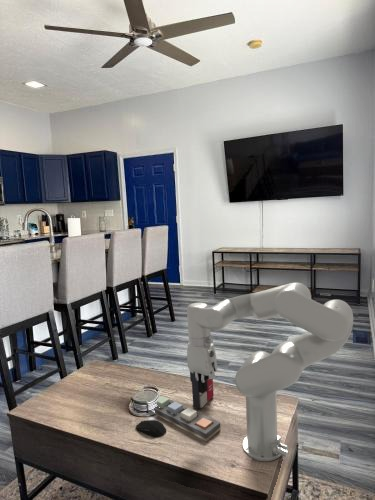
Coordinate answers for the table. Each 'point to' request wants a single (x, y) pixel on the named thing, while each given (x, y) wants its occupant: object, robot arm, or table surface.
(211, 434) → the keypad
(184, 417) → the key ivory
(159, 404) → the key sage
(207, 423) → the key terracotta
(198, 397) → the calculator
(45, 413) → the table surface
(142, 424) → the gaming mouse
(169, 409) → the key slate
